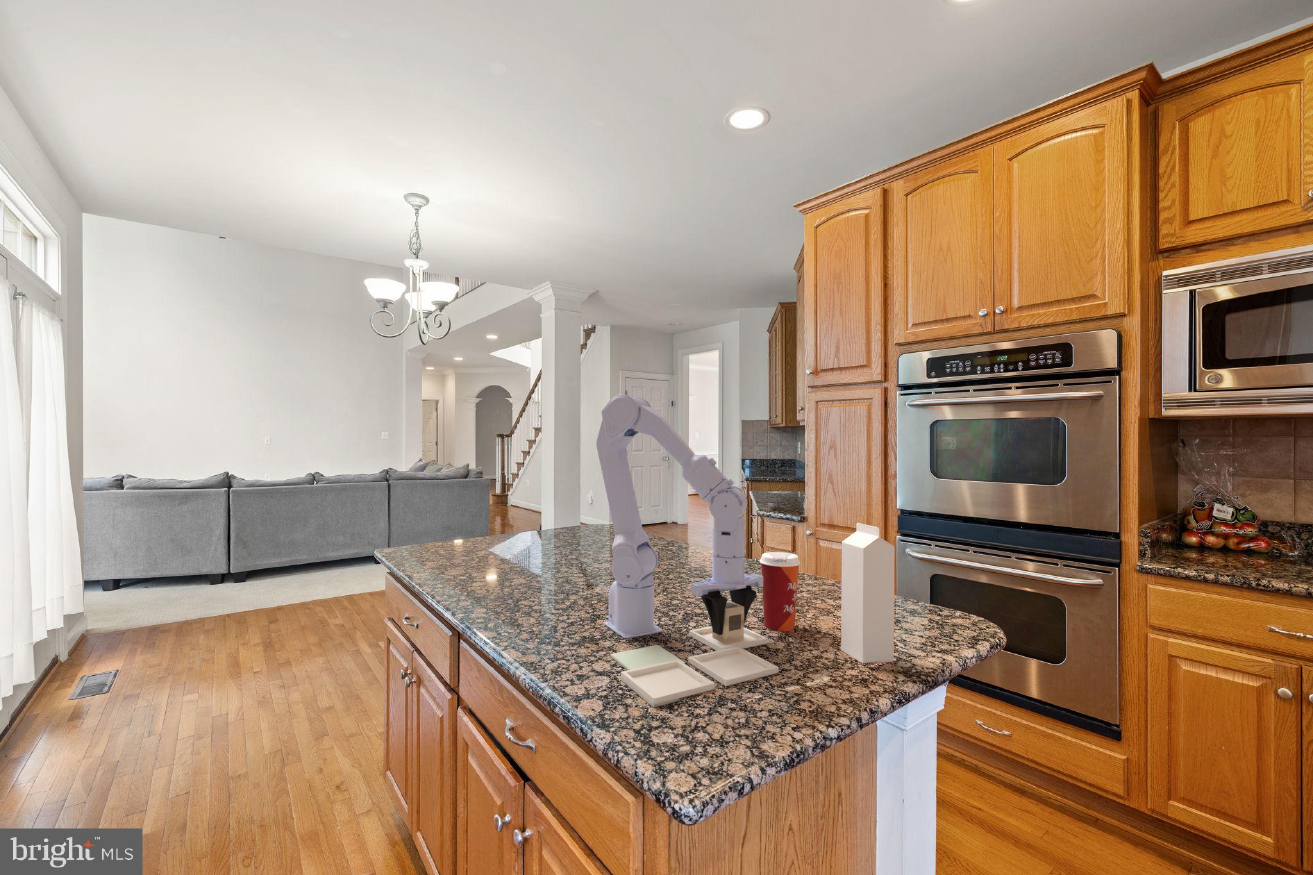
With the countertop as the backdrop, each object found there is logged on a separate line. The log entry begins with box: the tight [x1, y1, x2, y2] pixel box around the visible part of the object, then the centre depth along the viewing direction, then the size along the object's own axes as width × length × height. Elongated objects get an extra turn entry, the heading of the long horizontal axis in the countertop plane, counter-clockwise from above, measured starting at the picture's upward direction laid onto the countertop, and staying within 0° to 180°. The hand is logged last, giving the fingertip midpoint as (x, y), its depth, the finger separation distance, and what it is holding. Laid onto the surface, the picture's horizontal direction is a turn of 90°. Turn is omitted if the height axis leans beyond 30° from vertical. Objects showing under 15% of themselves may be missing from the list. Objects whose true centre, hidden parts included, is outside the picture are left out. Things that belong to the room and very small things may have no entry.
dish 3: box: [687, 646, 780, 687], centre depth 89 cm, size 10×10×1 cm
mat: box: [609, 644, 686, 671], centre depth 92 cm, size 9×9×1 cm
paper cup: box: [759, 551, 801, 632], centre depth 109 cm, size 8×8×14 cm
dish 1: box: [620, 659, 715, 708], centre depth 83 cm, size 10×10×1 cm
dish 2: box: [688, 625, 769, 651], centre depth 102 cm, size 10×10×1 cm
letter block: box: [712, 600, 745, 644], centre depth 102 cm, size 4×4×6 cm
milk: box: [840, 522, 895, 665], centre depth 95 cm, size 6×6×22 cm
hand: (727, 631), depth 102 cm, fingers closed on letter block, 4 cm apart
